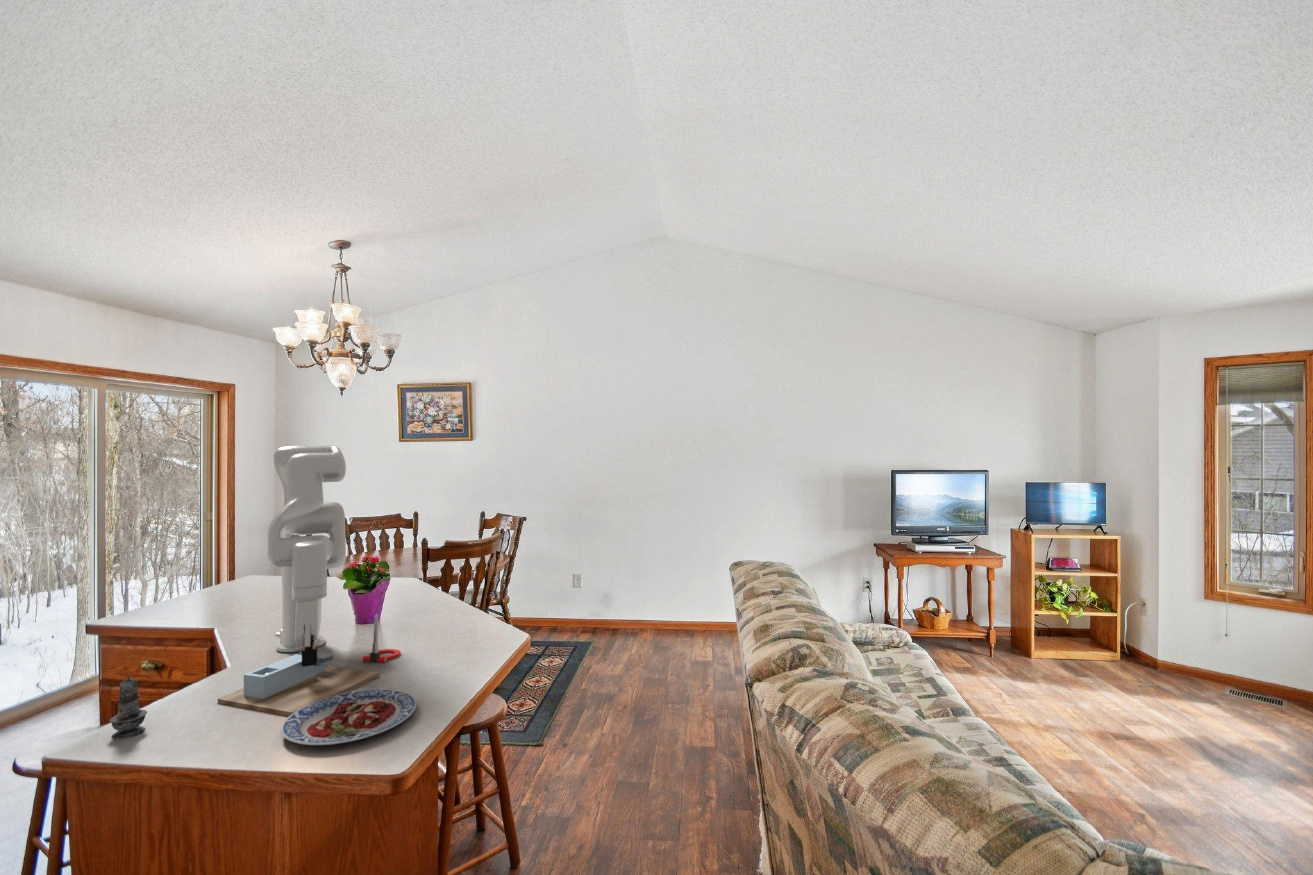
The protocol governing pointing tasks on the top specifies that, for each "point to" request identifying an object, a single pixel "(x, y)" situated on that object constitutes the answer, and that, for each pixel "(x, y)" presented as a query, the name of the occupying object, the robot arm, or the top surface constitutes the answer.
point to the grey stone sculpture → (128, 711)
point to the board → (303, 691)
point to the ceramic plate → (348, 717)
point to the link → (278, 676)
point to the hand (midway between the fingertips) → (309, 664)
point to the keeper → (322, 657)
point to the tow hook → (375, 653)
